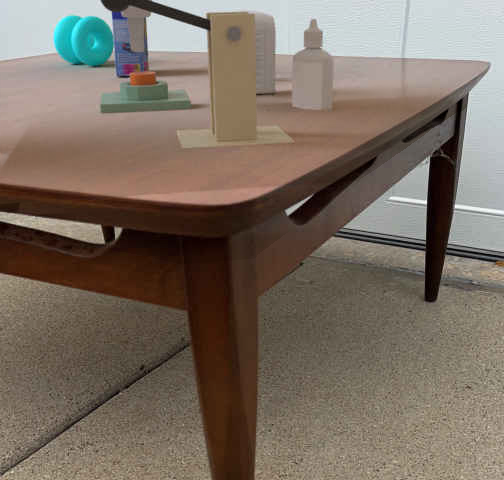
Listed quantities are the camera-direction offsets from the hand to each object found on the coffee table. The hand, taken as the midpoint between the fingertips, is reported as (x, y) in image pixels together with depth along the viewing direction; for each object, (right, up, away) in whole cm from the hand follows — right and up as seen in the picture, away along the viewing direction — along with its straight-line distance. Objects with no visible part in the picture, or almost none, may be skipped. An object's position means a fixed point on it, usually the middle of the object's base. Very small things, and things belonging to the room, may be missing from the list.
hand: (137, 51), depth 93 cm
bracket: (+13, -17, -17) cm, 27 cm away
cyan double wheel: (-21, +17, +57) cm, 63 cm away
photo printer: (+14, -1, +17) cm, 22 cm away
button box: (+1, -7, +4) cm, 8 cm away
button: (+1, -4, +2) cm, 5 cm away
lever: (+7, -6, -23) cm, 25 cm away
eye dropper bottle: (+24, -9, 0) cm, 25 cm away
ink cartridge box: (-8, +10, +42) cm, 44 cm away
